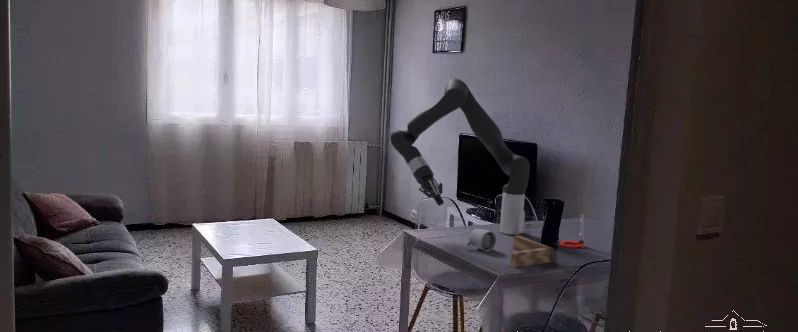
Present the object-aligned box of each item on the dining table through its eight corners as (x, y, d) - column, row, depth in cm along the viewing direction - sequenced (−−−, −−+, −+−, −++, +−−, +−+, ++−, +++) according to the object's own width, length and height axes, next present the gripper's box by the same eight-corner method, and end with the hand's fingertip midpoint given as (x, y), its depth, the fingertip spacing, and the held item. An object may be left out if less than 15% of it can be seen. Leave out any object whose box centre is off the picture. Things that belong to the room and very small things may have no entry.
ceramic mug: (481, 244, 236) (482, 225, 234) (496, 250, 229) (497, 230, 228) (460, 248, 230) (461, 228, 229) (475, 254, 223) (476, 233, 222)
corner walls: (516, 247, 234) (518, 235, 233) (552, 261, 218) (554, 248, 217) (479, 252, 224) (480, 239, 223) (514, 267, 208) (515, 253, 207)
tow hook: (561, 248, 238) (585, 249, 238) (563, 216, 237) (587, 217, 236) (557, 243, 247) (580, 243, 246) (558, 212, 245) (581, 212, 245)
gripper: (426, 174, 255) (446, 208, 248) (404, 176, 246) (425, 211, 239) (436, 163, 251) (457, 197, 244) (415, 165, 241) (436, 200, 235)
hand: (441, 204), depth 241 cm, fingers closed
